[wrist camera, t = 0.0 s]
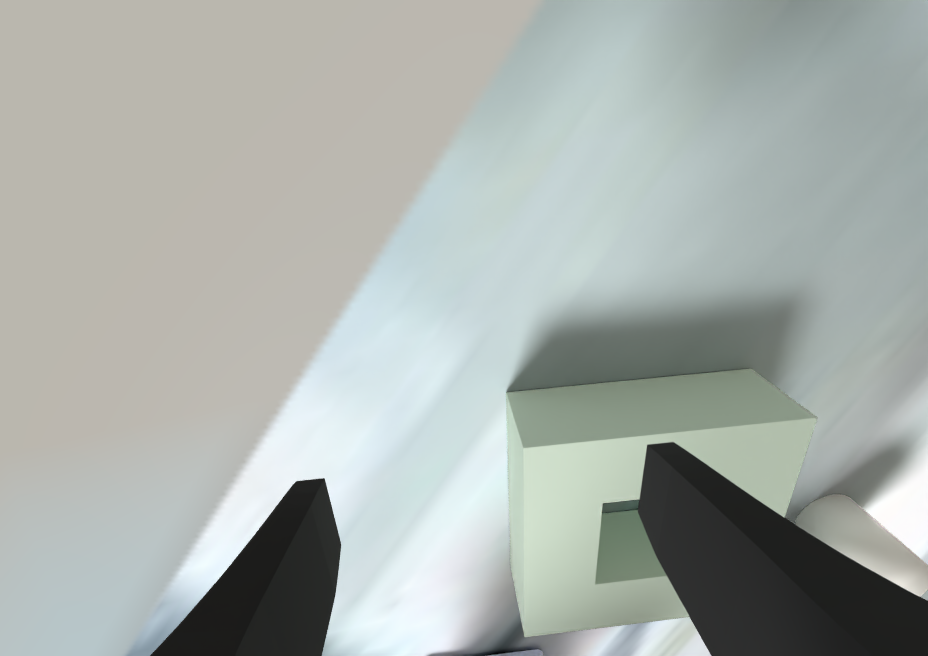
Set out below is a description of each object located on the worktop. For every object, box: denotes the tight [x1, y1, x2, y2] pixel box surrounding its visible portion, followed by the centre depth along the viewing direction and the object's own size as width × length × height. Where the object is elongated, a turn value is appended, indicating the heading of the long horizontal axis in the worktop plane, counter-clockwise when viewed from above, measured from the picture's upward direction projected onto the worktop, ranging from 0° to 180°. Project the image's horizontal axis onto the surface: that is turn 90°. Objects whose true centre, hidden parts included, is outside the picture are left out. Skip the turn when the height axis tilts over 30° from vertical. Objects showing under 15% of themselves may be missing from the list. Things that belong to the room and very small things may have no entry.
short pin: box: [795, 494, 928, 597], centre depth 24 cm, size 4×4×4 cm
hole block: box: [506, 369, 817, 637], centre depth 22 cm, size 12×12×4 cm
